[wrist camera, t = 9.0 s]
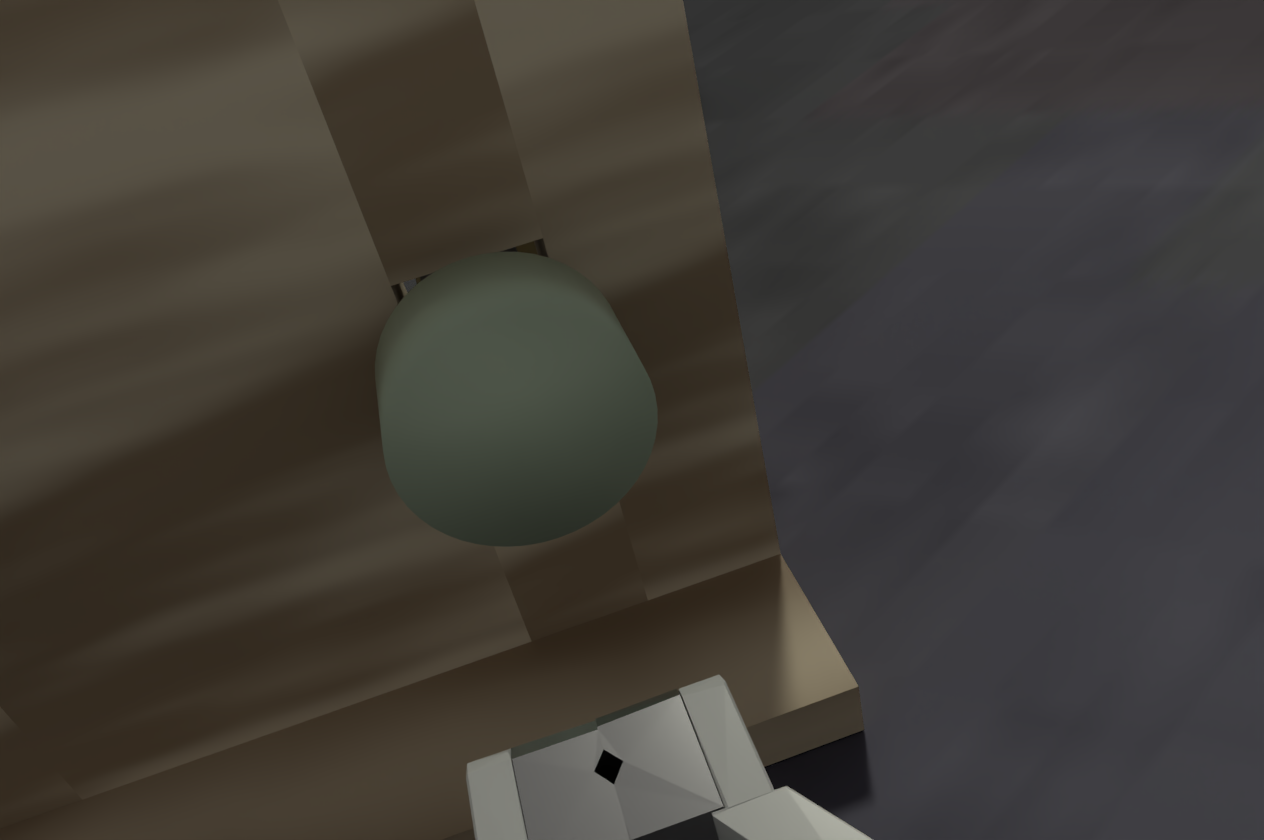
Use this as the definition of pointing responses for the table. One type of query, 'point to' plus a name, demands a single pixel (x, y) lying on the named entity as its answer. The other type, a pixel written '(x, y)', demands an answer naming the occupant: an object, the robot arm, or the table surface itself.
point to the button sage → (511, 400)
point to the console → (348, 414)
